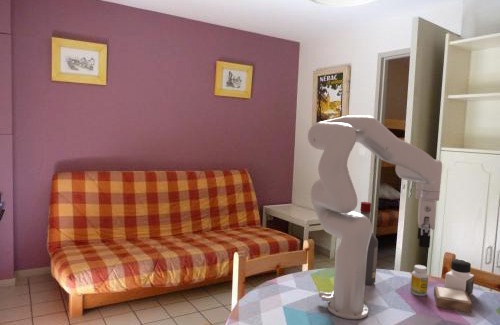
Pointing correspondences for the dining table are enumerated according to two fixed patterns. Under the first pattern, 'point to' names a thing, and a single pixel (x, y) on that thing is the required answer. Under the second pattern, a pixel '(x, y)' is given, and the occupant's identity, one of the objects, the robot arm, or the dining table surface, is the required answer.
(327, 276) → the dining table surface
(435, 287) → the coaster block
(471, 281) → the medicine bottle
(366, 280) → the liquor
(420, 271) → the supplement bottle
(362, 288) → the robot arm
